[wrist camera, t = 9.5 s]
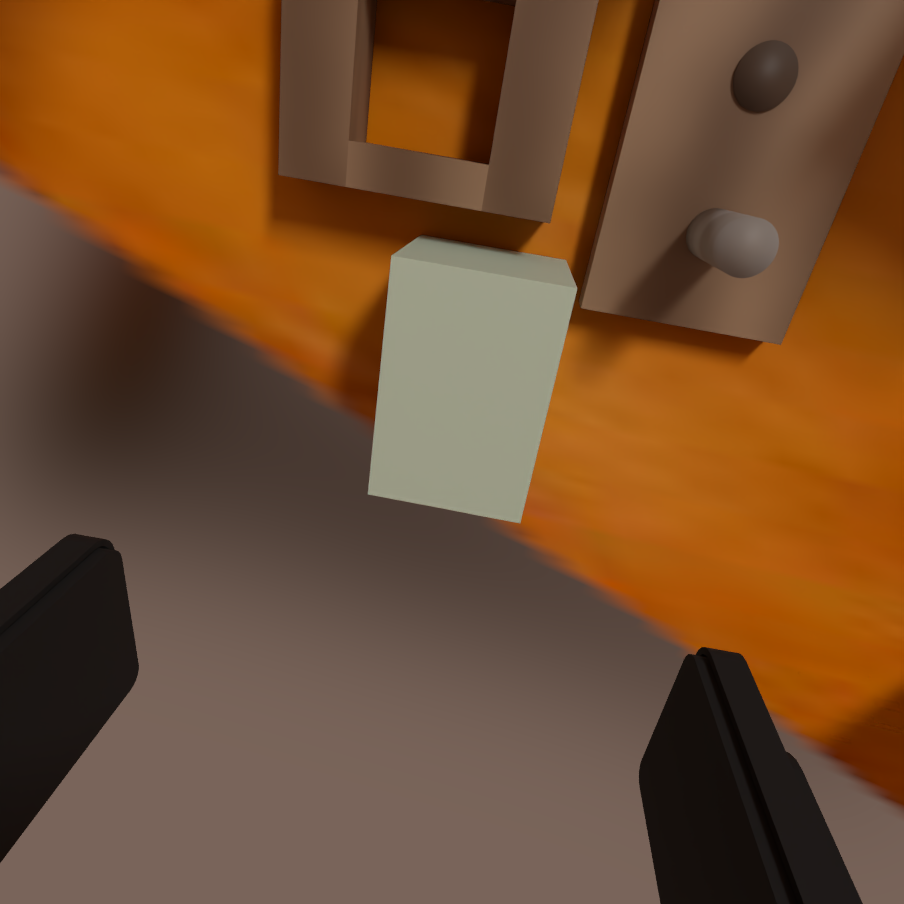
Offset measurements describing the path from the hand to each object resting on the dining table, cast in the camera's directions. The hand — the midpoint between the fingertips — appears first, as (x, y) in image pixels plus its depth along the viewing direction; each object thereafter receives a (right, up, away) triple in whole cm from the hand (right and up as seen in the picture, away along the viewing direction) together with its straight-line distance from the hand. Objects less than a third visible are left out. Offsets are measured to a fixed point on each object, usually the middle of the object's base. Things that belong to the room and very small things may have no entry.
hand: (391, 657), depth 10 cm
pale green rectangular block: (+2, +8, +16) cm, 18 cm away
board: (+11, +14, +12) cm, 22 cm away
